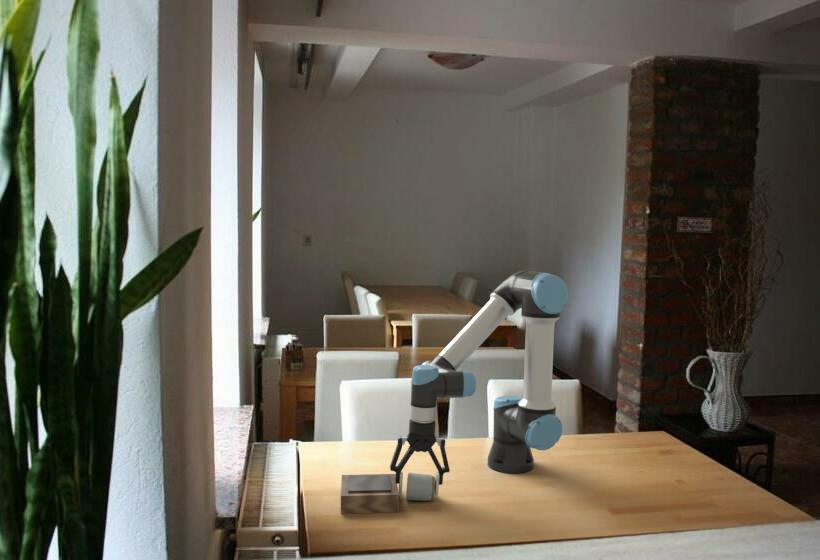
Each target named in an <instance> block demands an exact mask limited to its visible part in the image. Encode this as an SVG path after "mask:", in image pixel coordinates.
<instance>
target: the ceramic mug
mask: <svg viewBox="0 0 820 560" xmlns="http://www.w3.org/2000/svg"><path fill="white" fill-rule="evenodd" d="M435 477H436V476H434V475H432V474H431V475H430V474H427V473H426V474H422V473H415V472H408V473H407V478H406V480H407V481H406V492H405V493H406V496H405V498H406V499H405V500H406V501H417V502H419V501H423V502H426V501H427V502H428V501H429V502H430V501H433V500H434V499H435Z"/></svg>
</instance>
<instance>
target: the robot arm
mask: <svg viewBox="0 0 820 560" xmlns="http://www.w3.org/2000/svg"><path fill="white" fill-rule="evenodd" d="M568 301H569V290H568V287H567V285H566V283H565V281H564V280H563V279H562V278H561V277H560V276H558V275H555V274H552V273H549V272H541V271H534V270H533V271H532V270H520V271H518V272H514V273H513V274H511V275H510V276H508V277H507V278H506V279H504V280H503V281H502V282H501V283H500V284H499V285H498V286H497V287H496V288H495V289H494V290H493V291H492V292H491V293H490V294H489V300H488V301H487V302H486V303H485V304H484V305H483V307H481V308H480V309H479V311H478V312H477V313H476V314H475V315H474V316H473V317H472V318H471V319H470V320H469V322H468V323H467V324H466V325H464V327H463V328H462V329H461V330H460V331H459V332H458V333H457V334H456V335H455V337H453V339H452V340H451V341H450V342H448V344H447V345H446V346H445V347H444V348H443V349H442V351H441V352H440V353H439V354H438V355H437V356H435V358H433V360H426V361H425V362H423V363H421V364H418V365H415V366H414V367H413V369H412V374H411V380H410V384H411V386H410V406H409V407H410V408H409V409H410V410H409V418H410V419H409V421H408V433H407V436H401V435H398V436H397V444H396V447H395V450H394V452H393V453H394V454H393V455H392V459H391V461H390V465H389V469H390V471H391V472H395V474H396V478H395V481H396V484H397V485H398V493H399V497H402V494H403V478H404V472H403V469H404V467H405V466H406V464H407V463H408V461H409V459H410V458H411V457H412V455H413V454H414V452H416V453H420V452H422V453H427V452H428V454H429V456H430V458H431V459H432V462H433V463H434V465H435V467H436V469H437V471H435V476H434V477H435V492H434V498H438V497H439V487H440V486H441V485H443V483H444V482H443V481H444V474H445V473H450V466H449V461H448V457H447V453H446V448H445V447H446V440H445V439H446V438H445V437H444V436H442V437H436V421H435V420H436V419H437V402H438V400H440V399H455V398H456V399H457V398H461V399H463V398H467V397H472V396H473V395H474V394H475V393H476V390H477V380H476V377H475V374H474V373H473V372H471V371H469V370H465V371H464V370H461V371H460V370H459V369H460V367H462V366H463V364H464V363H465V362H466V361H468V359H469V358H470V357H471V356H472V355H473V354H474V353H475V352H476V350H477V349H478V348H479V347H481V345H482V344H483V343H484V342H485V341H486V339H488V337H489V336H490V335H491V334H492V333H493V332H494V331H495V330H496V329H497V327H499V326H500V325H501V323H503V321H504V320H505V319H506V318H507V317H508V316H513V315H514V314H515V313H516V312H517V311H518V310H520V309H521V313H520V316H521V318H522V319H523V320H524V321H525V341H524V342H525V343H524V344H525V345H524V363H523V364H524V366H523V367H524V368H523V389H522V390H523V392H522V394H523V395H519V394H517V395H516V394H512V395H510V394H509V395H501V396H498V397H496V398H495V399H494V401H493V402H494V403H493V407H492V408H493V436H492V437H493V442H492V445H491V447H490V449H489V453H488V455H487V467H489V468H490V469H492V470H494V471H496V472H500V473H506V474H507V473H508V474H521V473H526V472H529V471H532V470H533V469H534V467H535V459H534V455H533V452H532V449H535V450H538V451H547V450H549V449H550V450H551V448H553V447H555V445H556V443H558V442H559V441H560V439H561V437H562V435H563V428H564V427H563V423H562V421H561V420H560V418H559V417H558V416H557V415H556V413H557V412H556V411H557V405H556V403H555V402H554V401H553V400H552V389H553V388H552V387H553V368H554V367H553V366H554V365H553V363H554V344H555V343H554V341H555V323H556V322H557V321H558V320H559V319H560V317H561V312H562V311H563V310H564V309H565V307H566V306H567V304H568ZM458 370H459V371H458ZM406 442H407V443H408V444H409V446H408V447H407V450H406V451H405V453H404V455H403V456H402V458H401V459H400V461H399V462H398V460H399V457H400V455H401V452H402V449H403V446H404V445H405V443H406ZM436 443H437V446H439V449H440V453H441V459H442V462H443V467H442V466H441V464H440V462H439V460H438V458H437V455H436V454H435V452H434V450H433V447H434V445H435V444H436ZM397 463H398V464H397Z"/></svg>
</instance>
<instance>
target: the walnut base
mask: <svg viewBox="0 0 820 560" xmlns="http://www.w3.org/2000/svg"><path fill="white" fill-rule="evenodd" d="M395 478H396V473H375V474H374V473H372V474H369V473H366V474H364V473H363V474H341V479H340V480H341V483H340V484H341V485H340V514H368V513H369V514H375V513H376V514H377V513H378V512H380V513H399V512H400V511H399V510H400V509H399V508H400V507H399V506H400V503H399V502H400V501H399V500H400V498H399V497H400V496H399V485H398V484H396V481H395Z"/></svg>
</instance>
